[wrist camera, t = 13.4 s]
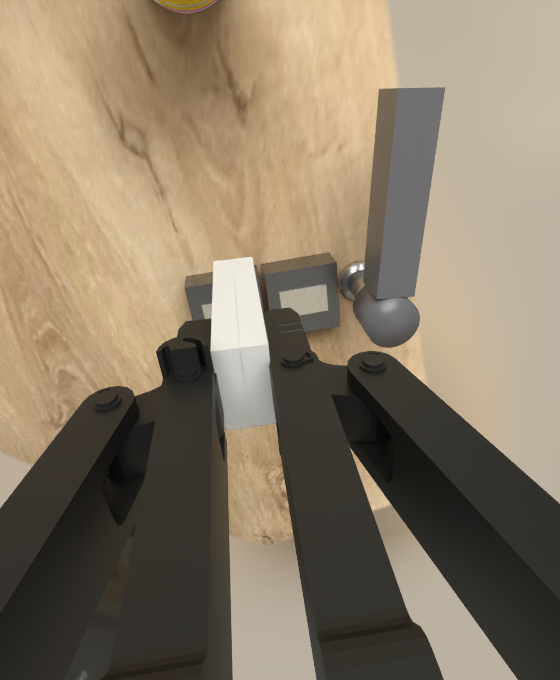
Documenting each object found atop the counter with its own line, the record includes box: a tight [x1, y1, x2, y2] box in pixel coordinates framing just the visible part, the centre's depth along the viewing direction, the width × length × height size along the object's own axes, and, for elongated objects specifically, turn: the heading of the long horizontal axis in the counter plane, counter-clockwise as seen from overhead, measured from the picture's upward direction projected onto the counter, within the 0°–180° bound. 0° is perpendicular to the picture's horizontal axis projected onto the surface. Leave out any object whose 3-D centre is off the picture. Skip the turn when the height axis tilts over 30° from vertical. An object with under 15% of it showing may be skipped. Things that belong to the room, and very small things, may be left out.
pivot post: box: [339, 261, 365, 300], centre depth 38 cm, size 4×4×5 cm
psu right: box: [261, 253, 340, 332], centre depth 38 cm, size 6×6×3 cm
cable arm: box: [353, 88, 445, 348], centre depth 30 cm, size 17×4×4 cm, turn 1°
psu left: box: [185, 265, 264, 321], centre depth 38 cm, size 6×6×3 cm
